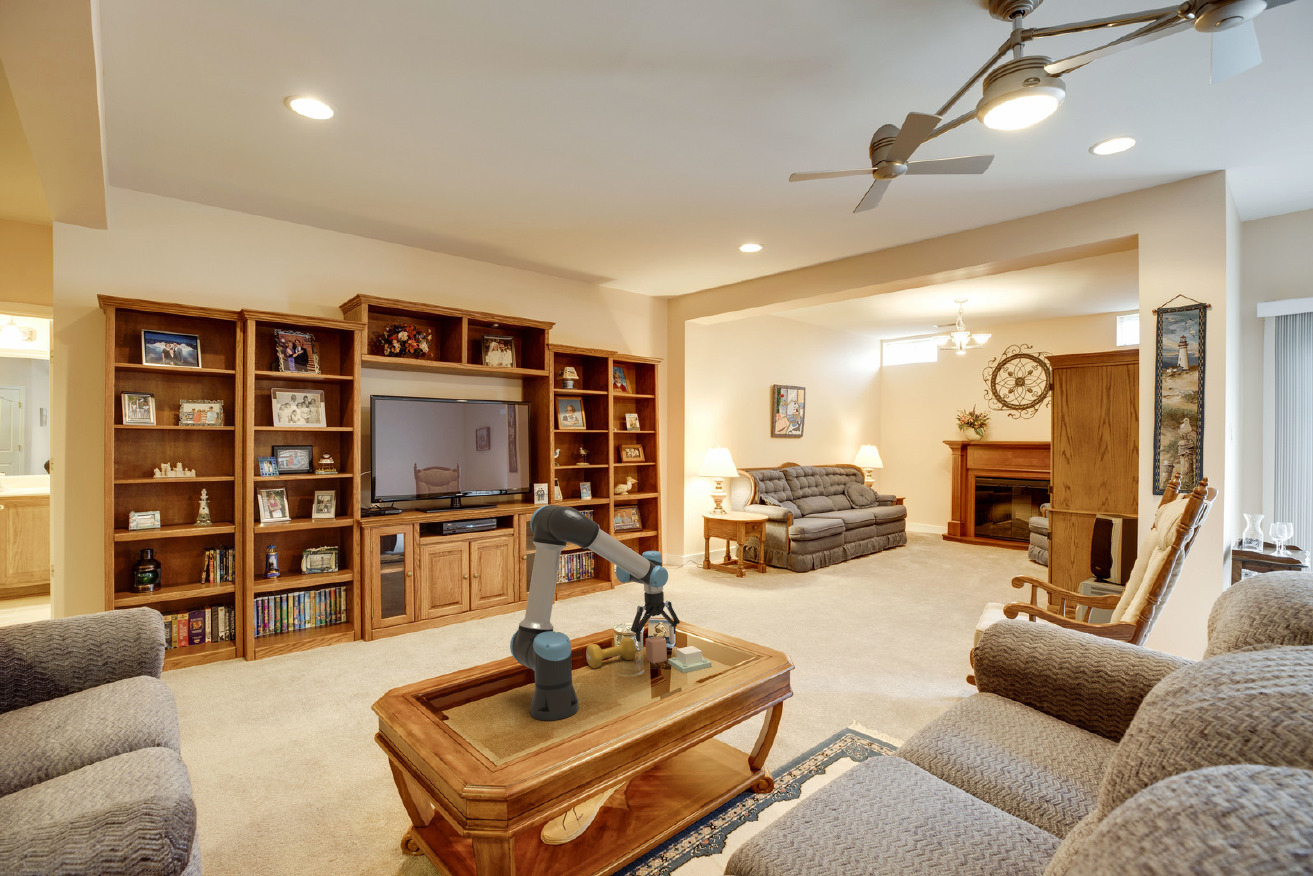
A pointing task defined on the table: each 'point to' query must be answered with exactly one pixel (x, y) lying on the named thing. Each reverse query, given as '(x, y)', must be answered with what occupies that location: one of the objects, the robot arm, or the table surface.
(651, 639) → the top brick
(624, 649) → the dumbbell
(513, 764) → the table surface
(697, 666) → the tower base
